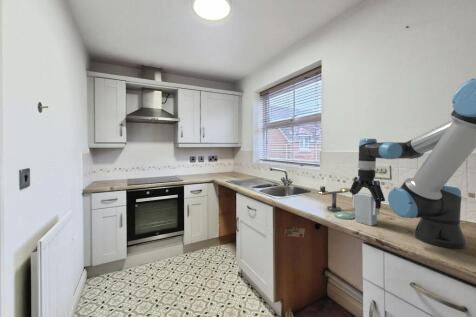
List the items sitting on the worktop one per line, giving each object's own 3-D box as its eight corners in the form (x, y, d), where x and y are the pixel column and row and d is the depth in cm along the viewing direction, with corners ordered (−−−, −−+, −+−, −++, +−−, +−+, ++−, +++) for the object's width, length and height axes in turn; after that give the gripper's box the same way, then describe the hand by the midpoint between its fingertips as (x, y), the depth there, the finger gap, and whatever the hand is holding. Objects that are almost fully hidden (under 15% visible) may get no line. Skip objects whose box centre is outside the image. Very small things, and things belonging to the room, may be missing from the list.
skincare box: (377, 224, 106) (377, 194, 105) (371, 226, 102) (372, 196, 102) (359, 219, 113) (360, 192, 112) (353, 221, 109) (354, 193, 109)
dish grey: (376, 217, 116) (376, 215, 116) (360, 218, 114) (360, 216, 114) (362, 212, 126) (362, 210, 126) (347, 213, 124) (347, 210, 124)
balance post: (344, 210, 129) (344, 194, 129) (332, 211, 127) (332, 195, 127) (335, 207, 137) (335, 191, 136) (324, 207, 135) (324, 192, 135)
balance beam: (353, 192, 131) (353, 184, 130) (321, 196, 126) (320, 188, 126) (346, 190, 137) (346, 183, 137) (315, 194, 133) (315, 186, 133)
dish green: (358, 218, 114) (358, 216, 114) (341, 220, 112) (341, 217, 112) (345, 213, 124) (345, 211, 123) (330, 214, 122) (330, 212, 122)
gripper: (395, 172, 95) (393, 218, 96) (355, 166, 120) (353, 203, 121) (381, 172, 94) (379, 219, 95) (343, 167, 118) (342, 204, 119)
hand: (365, 210), depth 108 cm, fingers open, 13 cm apart
